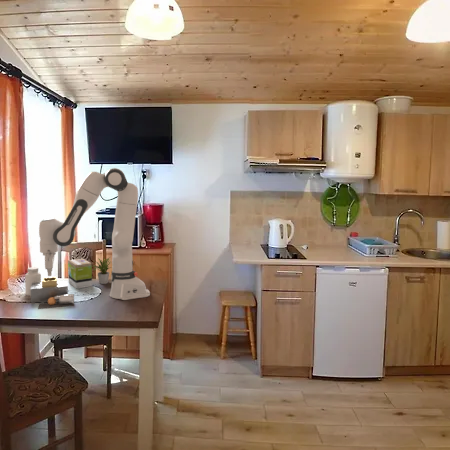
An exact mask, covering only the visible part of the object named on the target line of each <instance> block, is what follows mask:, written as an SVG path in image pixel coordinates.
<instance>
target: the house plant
mask: <svg viewBox="0 0 450 450" xmlns="http://www.w3.org/2000/svg"><path fill="white" fill-rule="evenodd" d="M97 260H98V261H99V262H98V261H95V260H94V263H96V264H97V265H93V264H92V267H94V268H93V271H96V270H98V271H99V272H97V276H98V283H99V284H101V285H106V284H108V282H109V277H110V272H109V271H108V270H109V269H111V268H112V266H111V267H110V264H112V262H111V261H112V260H110V257H108V258H106V259H105V257H104V258H103V260H102V259H100V258H99V257H97Z"/></svg>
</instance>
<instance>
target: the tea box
mask: <svg viewBox="0 0 450 450" xmlns="http://www.w3.org/2000/svg"><path fill="white" fill-rule="evenodd" d="M92 265H93V264H92V262H90V261H89V260H87V259H85V258H77V259H69V260H67V271H68V272H67V274H68V275H67V276H68V283H69V284H70V285H71V286H73V287H74V288H75V289H76V290H77V289H82V288H88V287H92V286H93V266H92Z"/></svg>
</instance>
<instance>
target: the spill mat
mask: <svg viewBox="0 0 450 450" xmlns="http://www.w3.org/2000/svg"><path fill="white" fill-rule="evenodd" d="M65 307H66V308H69V307H75V303H74V304H64V305H59V301H56V303H55V304H54V305H49V304H48V302H38V307H37V309H38V310H43V309H45V310H46V309H54V308H65Z"/></svg>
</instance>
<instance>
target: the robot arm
mask: <svg viewBox="0 0 450 450" xmlns="http://www.w3.org/2000/svg"><path fill="white" fill-rule="evenodd" d="M105 188H110V189H112V190H114V191H117V199H116V205H115V213H114V223H113V230H112V234H111V251H112V253H111V254H112V255H111V258H112V259H111V261H112V262H111V265H112V266H111V268H112V270H111V274H110V276H111V277H110V280H111V287H110V292H109V297H110V298H112V299H116V300H118V299H119V300H123V301H127V300H134V299H141V298H147V297H150V296H151V292H150V290H149V289H148V288H147V287H146V286H147V285H146V284H145V282H144V281H143V280H141V279H140V278H139V277H137V276H138V271H135V270H134V269H133V242H134V234H135V225H136V217H137V216H136V215H137V208H138V203H139V202H138V198H139V191H138V190H139V189H138V186H137V185H135V184H134V183H131V182H128V181H127V178H126V175H125V173H124V171H122V170H121V169H120V168H117V167H113V168H109V169H108V170H107V171H106V172H104V173H100V172H98V171H91V172H89V173H88V174H87V175H86V177H85V178H84V179H83V180H82V182H81V184H80V186H79V187H78V189H77V191H76V194H75V197H74V200H73V205H72V207H71V210H70V212H69V213H68V216H67V217H66V219H65V220H64V222H62V221H59V220H58V219H56V218H55V217H52V218H51V217H50V218H45V219H43V220H41V221H40V222H39V227H38V230H39V231H38V234H39V235H38V237H39V238H40V239H39V252H40V253H41V254H42V256H44V268H45V270H46V271H47V277H52V272H53V268H54V263H55V257H56V253H57V252H58V251H59V247H67V246H69V245H71V244H72V243H73V241H74V239H75V237H76V235H77V231H76V228H77V227H78V224H79V223H80V221H81V219H82V218H83V216H84V214H85V213H86V212H88V210H89V209H90V208H91V207H93V205H94V204H95V203H96V201H97V200H98V198H99V197H100V195H101V193H102V192H103V190H104V189H105Z"/></svg>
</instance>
